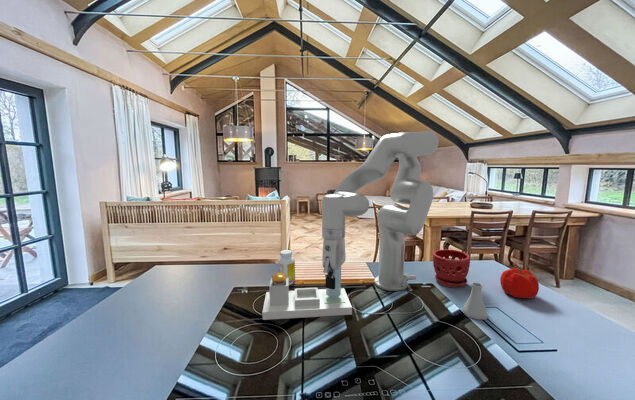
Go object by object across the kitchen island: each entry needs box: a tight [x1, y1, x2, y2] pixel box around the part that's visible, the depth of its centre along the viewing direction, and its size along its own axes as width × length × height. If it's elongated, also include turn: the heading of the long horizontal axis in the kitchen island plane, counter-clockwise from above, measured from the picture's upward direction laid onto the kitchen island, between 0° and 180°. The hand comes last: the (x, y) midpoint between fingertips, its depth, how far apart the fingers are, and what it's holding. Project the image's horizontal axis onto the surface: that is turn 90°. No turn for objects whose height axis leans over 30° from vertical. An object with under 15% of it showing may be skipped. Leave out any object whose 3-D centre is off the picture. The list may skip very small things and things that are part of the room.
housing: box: [261, 278, 353, 321], centre depth 89 cm, size 28×13×9 cm, turn 95°
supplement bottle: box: [277, 249, 296, 286], centre depth 107 cm, size 7×7×13 cm
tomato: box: [499, 267, 540, 299], centre depth 97 cm, size 11×12×9 cm
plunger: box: [271, 272, 287, 285], centre depth 88 cm, size 5×5×8 cm
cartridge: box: [325, 265, 342, 297], centre depth 89 cm, size 5×5×13 cm
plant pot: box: [432, 248, 471, 288], centre depth 106 cm, size 13×13×12 cm
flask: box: [461, 281, 488, 320], centre depth 84 cm, size 7×7×10 cm
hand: (333, 284), depth 90 cm, fingers closed on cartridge, 4 cm apart
